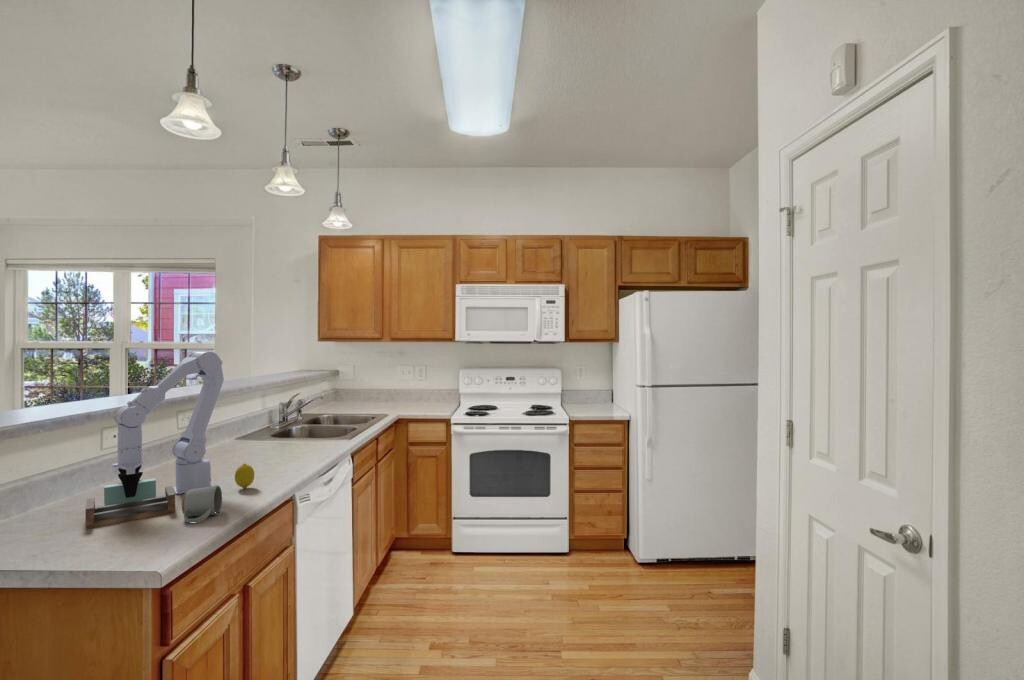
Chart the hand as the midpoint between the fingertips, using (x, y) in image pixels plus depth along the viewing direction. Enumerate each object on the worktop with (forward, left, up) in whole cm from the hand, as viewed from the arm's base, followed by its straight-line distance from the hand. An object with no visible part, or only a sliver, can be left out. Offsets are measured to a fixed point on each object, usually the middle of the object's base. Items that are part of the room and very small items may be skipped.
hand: (130, 493), depth 148 cm
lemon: (-29, +6, -3) cm, 30 cm away
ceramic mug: (-15, +26, -3) cm, 30 cm away
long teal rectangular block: (0, 0, -3) cm, 3 cm away
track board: (0, +13, -3) cm, 13 cm away
